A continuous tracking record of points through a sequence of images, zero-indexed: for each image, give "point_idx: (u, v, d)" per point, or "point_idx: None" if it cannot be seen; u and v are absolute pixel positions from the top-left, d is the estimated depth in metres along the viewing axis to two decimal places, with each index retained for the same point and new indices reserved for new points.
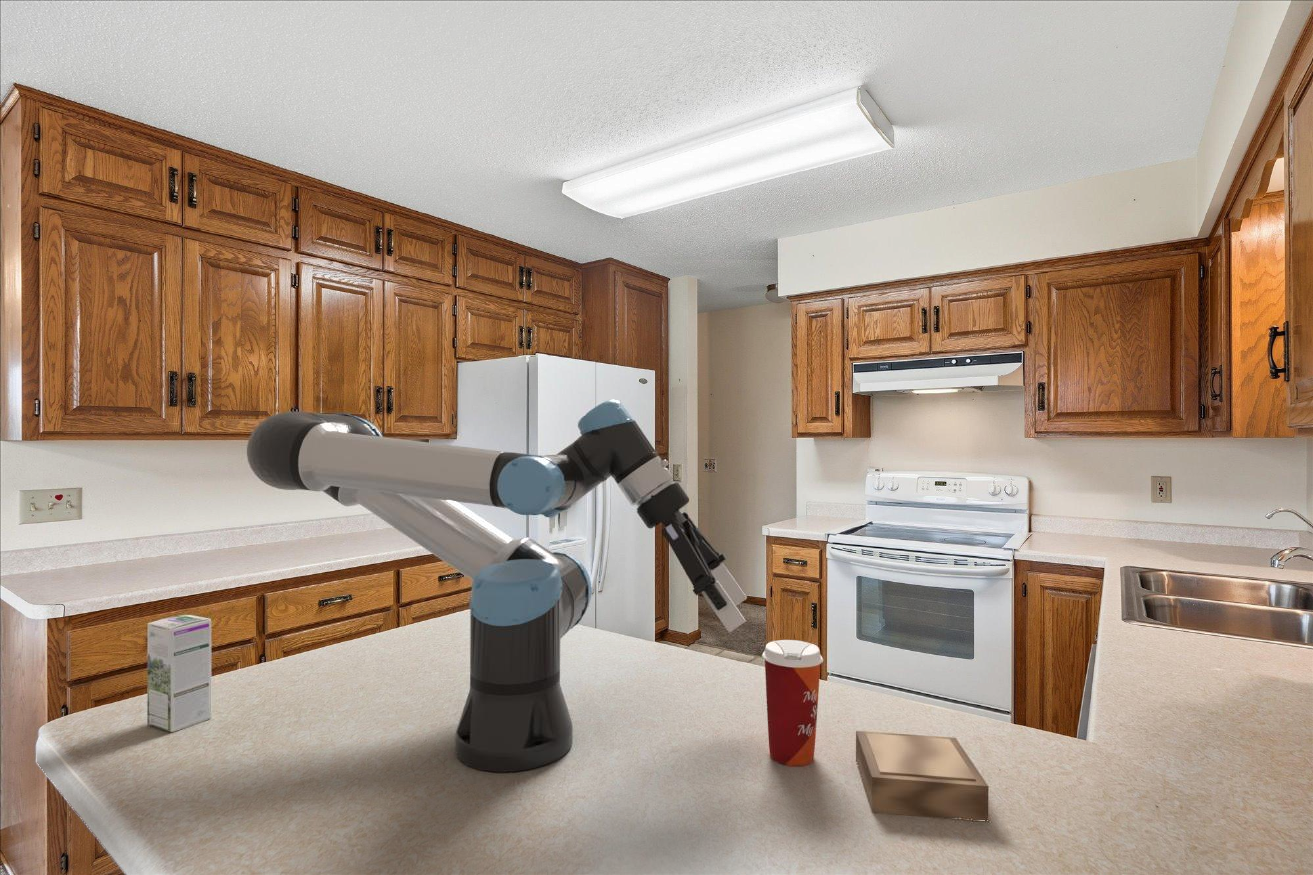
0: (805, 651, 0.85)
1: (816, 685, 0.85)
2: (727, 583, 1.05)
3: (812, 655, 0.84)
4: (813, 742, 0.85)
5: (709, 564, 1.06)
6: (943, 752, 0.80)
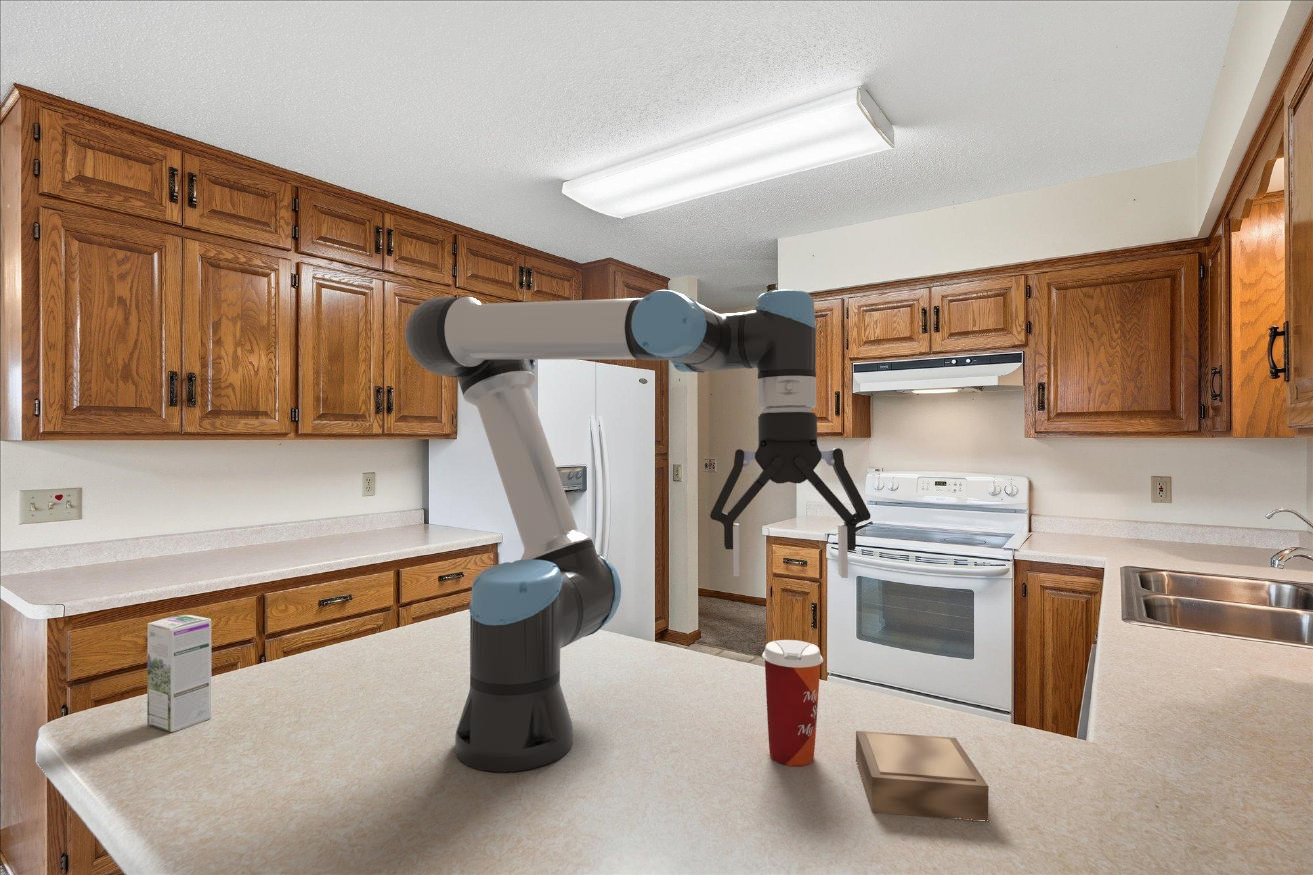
0: (805, 651, 0.85)
1: (816, 685, 0.85)
2: (839, 548, 0.87)
3: (812, 655, 0.84)
4: (813, 742, 0.85)
5: None
6: (943, 752, 0.80)
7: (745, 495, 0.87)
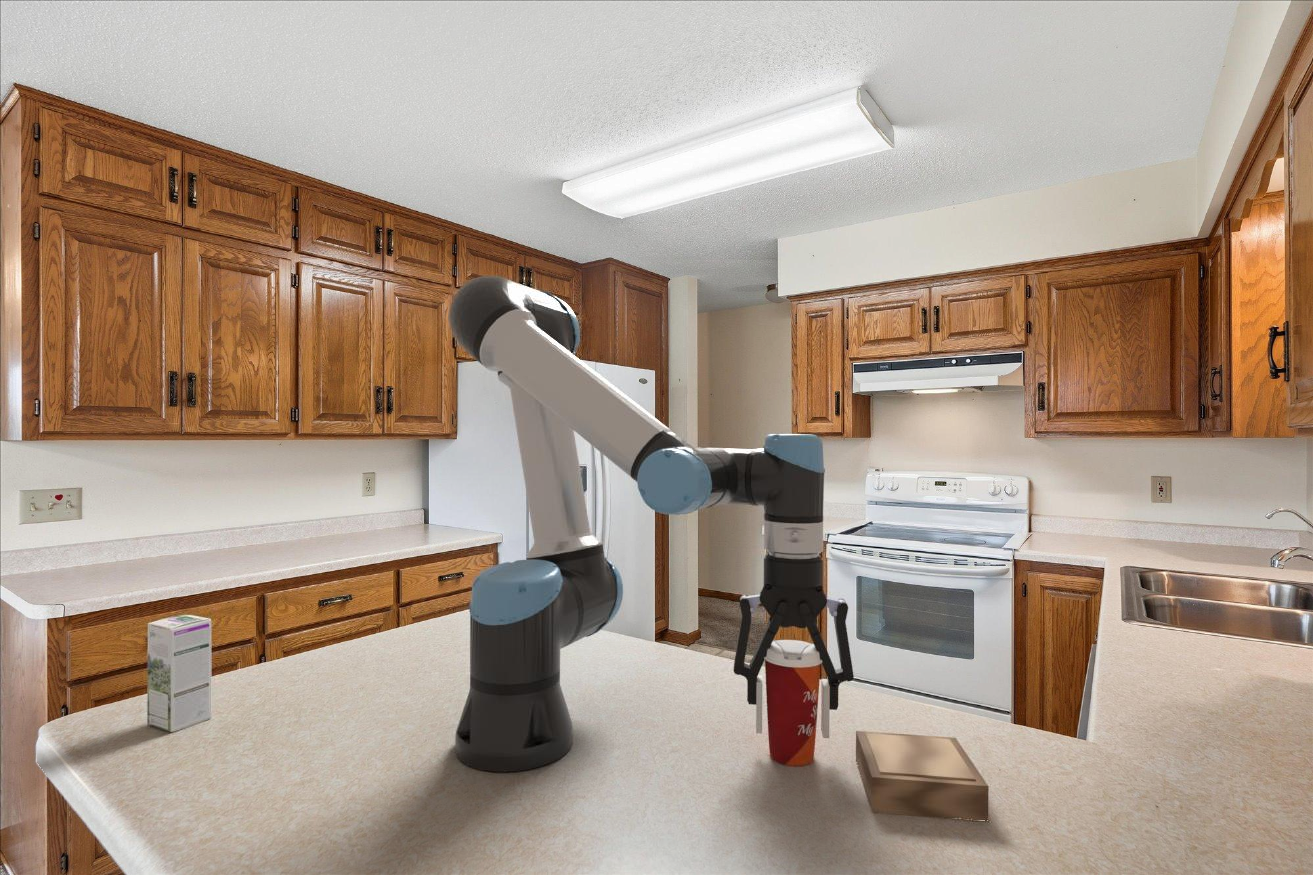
0: (805, 651, 0.85)
1: (816, 685, 0.85)
2: (822, 706, 0.86)
3: (812, 655, 0.84)
4: (813, 742, 0.85)
5: None
6: (943, 752, 0.80)
7: (761, 647, 0.86)
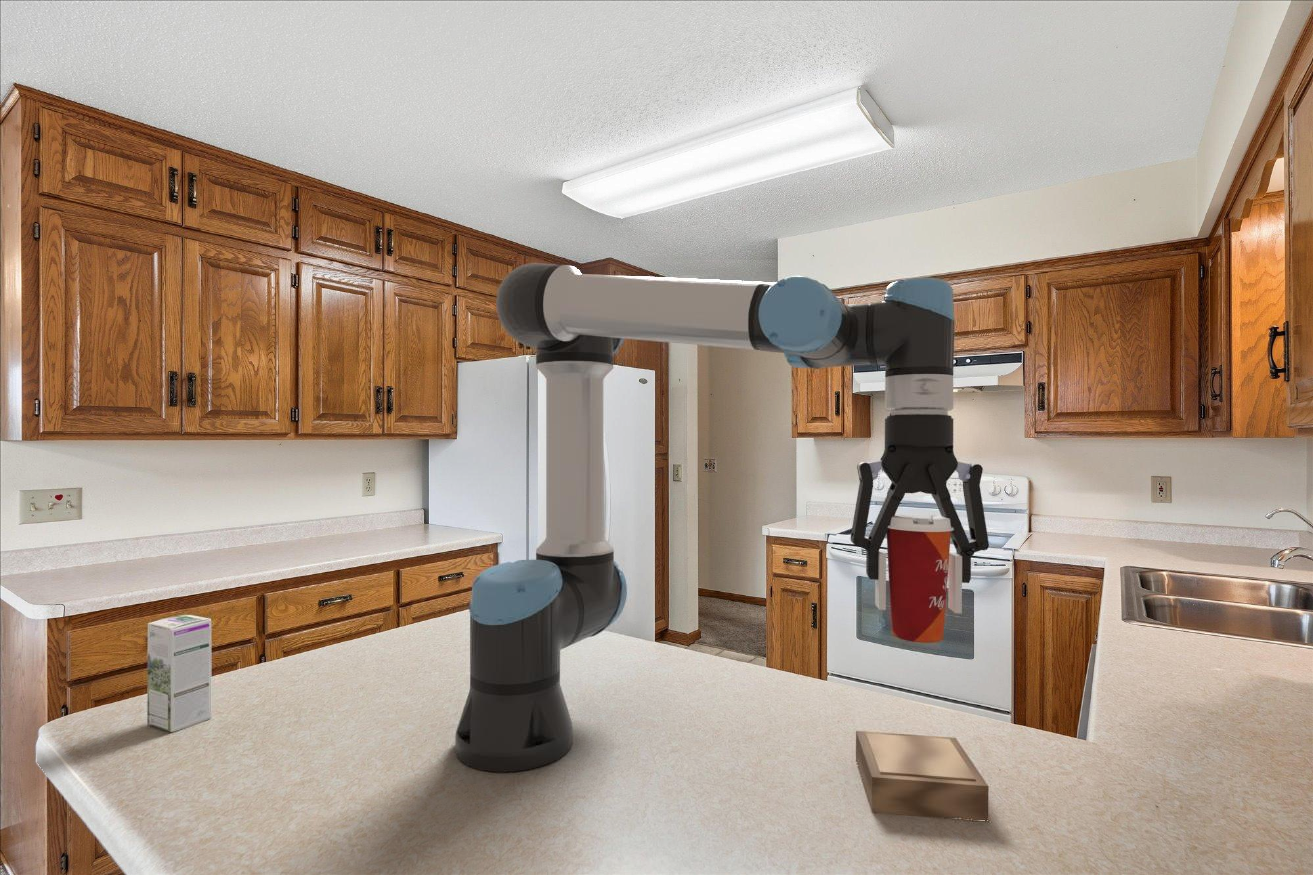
0: (935, 518, 0.77)
1: (948, 554, 0.77)
2: (952, 580, 0.78)
3: (944, 520, 0.76)
4: (944, 618, 0.77)
5: (957, 545, 0.79)
6: (943, 752, 0.80)
7: (884, 515, 0.79)
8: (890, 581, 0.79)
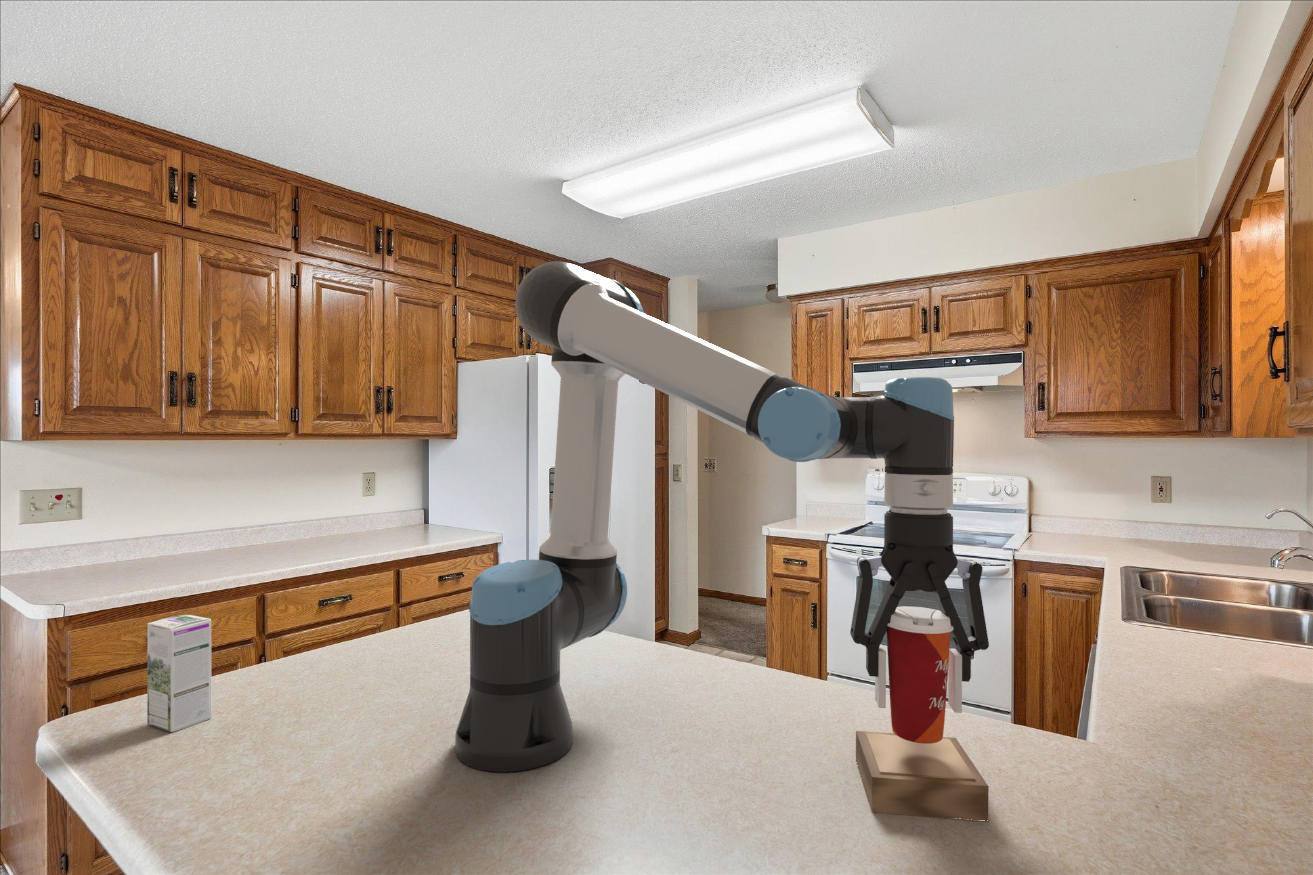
0: (935, 617, 0.77)
1: (947, 654, 0.77)
2: (952, 677, 0.78)
3: (944, 621, 0.76)
4: (944, 717, 0.77)
5: (957, 642, 0.79)
6: (943, 752, 0.80)
7: (884, 613, 0.78)
8: (890, 678, 0.79)
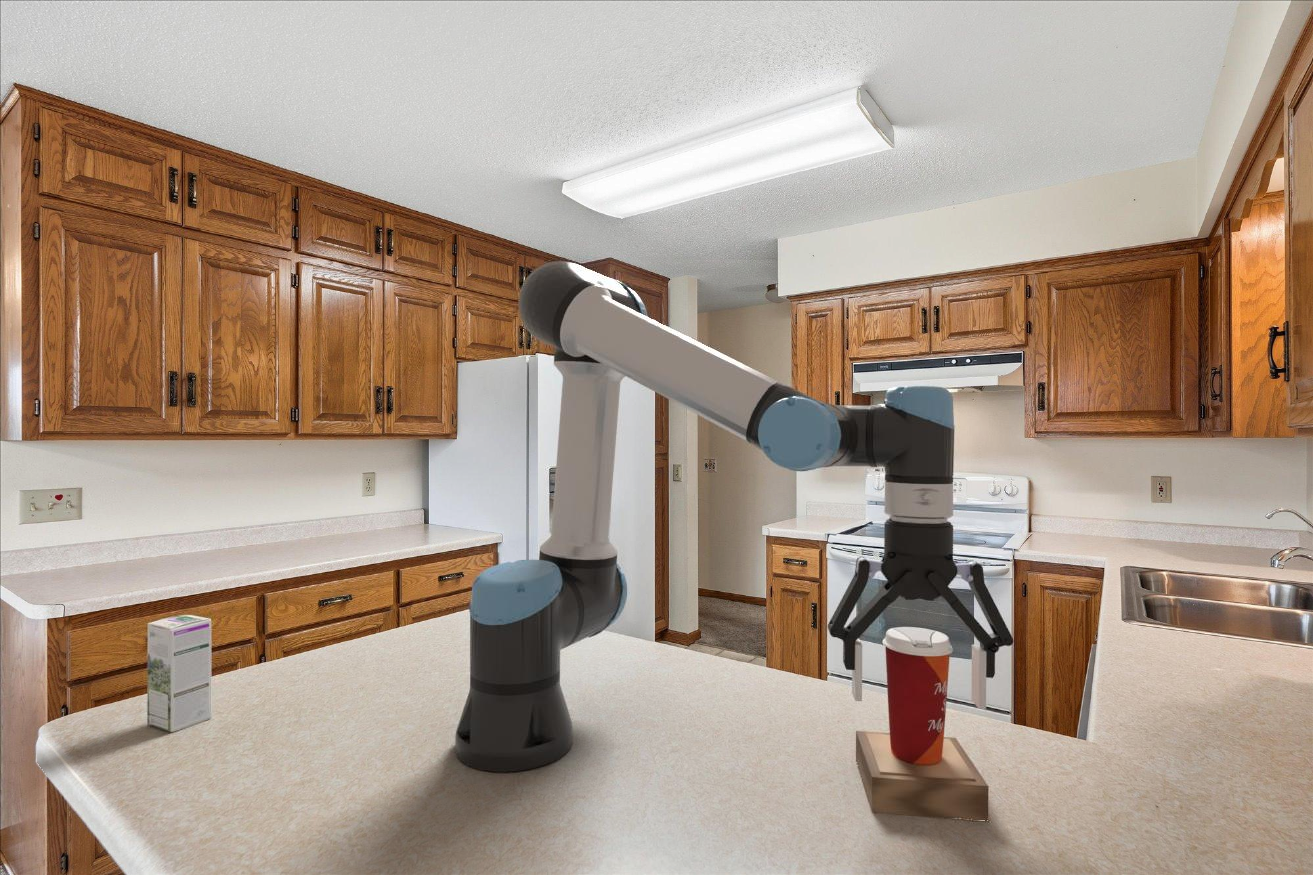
0: (934, 638, 0.77)
1: (947, 676, 0.77)
2: (975, 674, 0.78)
3: (943, 643, 0.76)
4: (942, 739, 0.77)
5: None
6: (943, 752, 0.80)
7: (870, 611, 0.79)
8: (889, 699, 0.79)
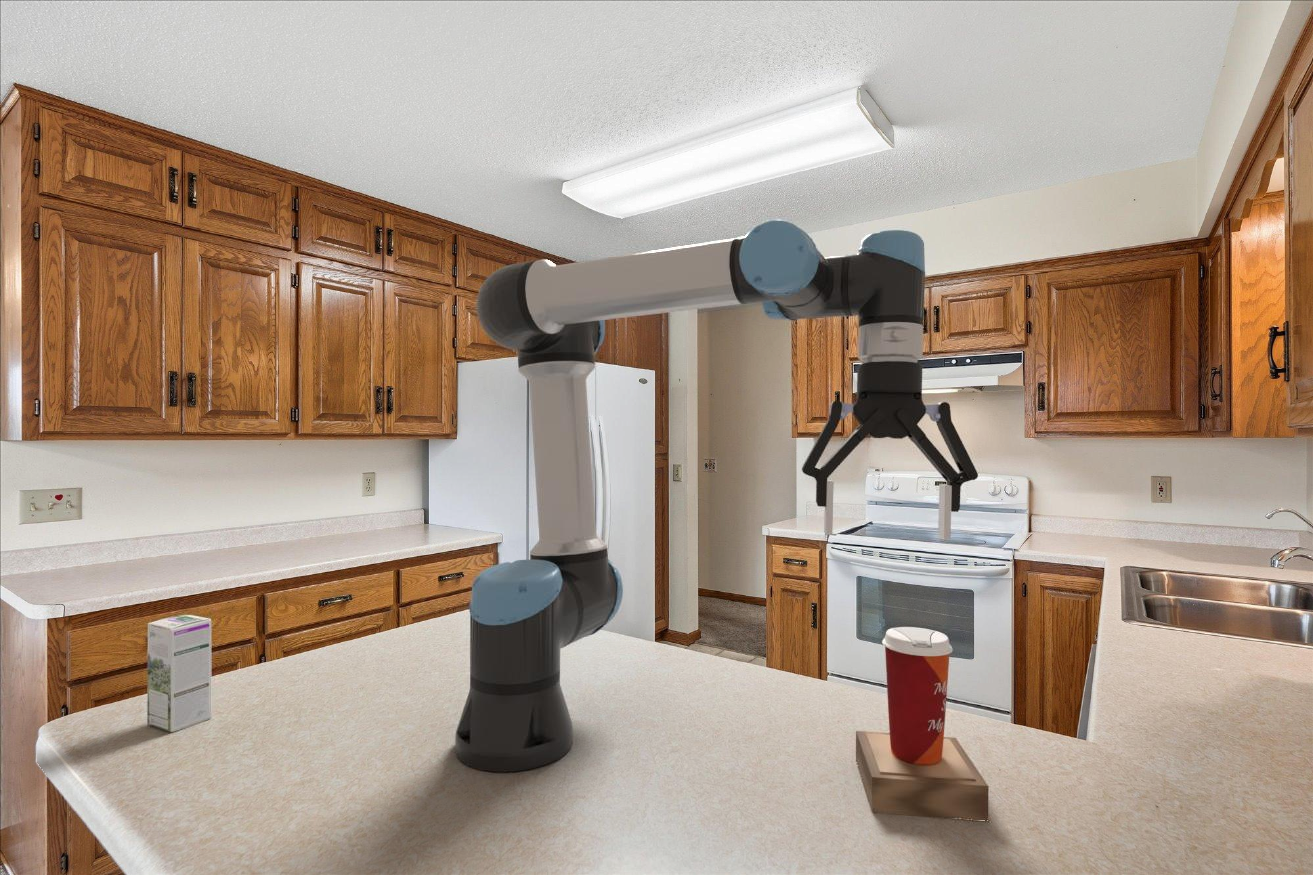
0: (933, 638, 0.77)
1: (946, 676, 0.77)
2: (941, 509, 0.81)
3: (943, 643, 0.76)
4: (942, 739, 0.77)
5: None
6: (943, 752, 0.80)
7: (841, 449, 0.82)
8: (889, 699, 0.79)
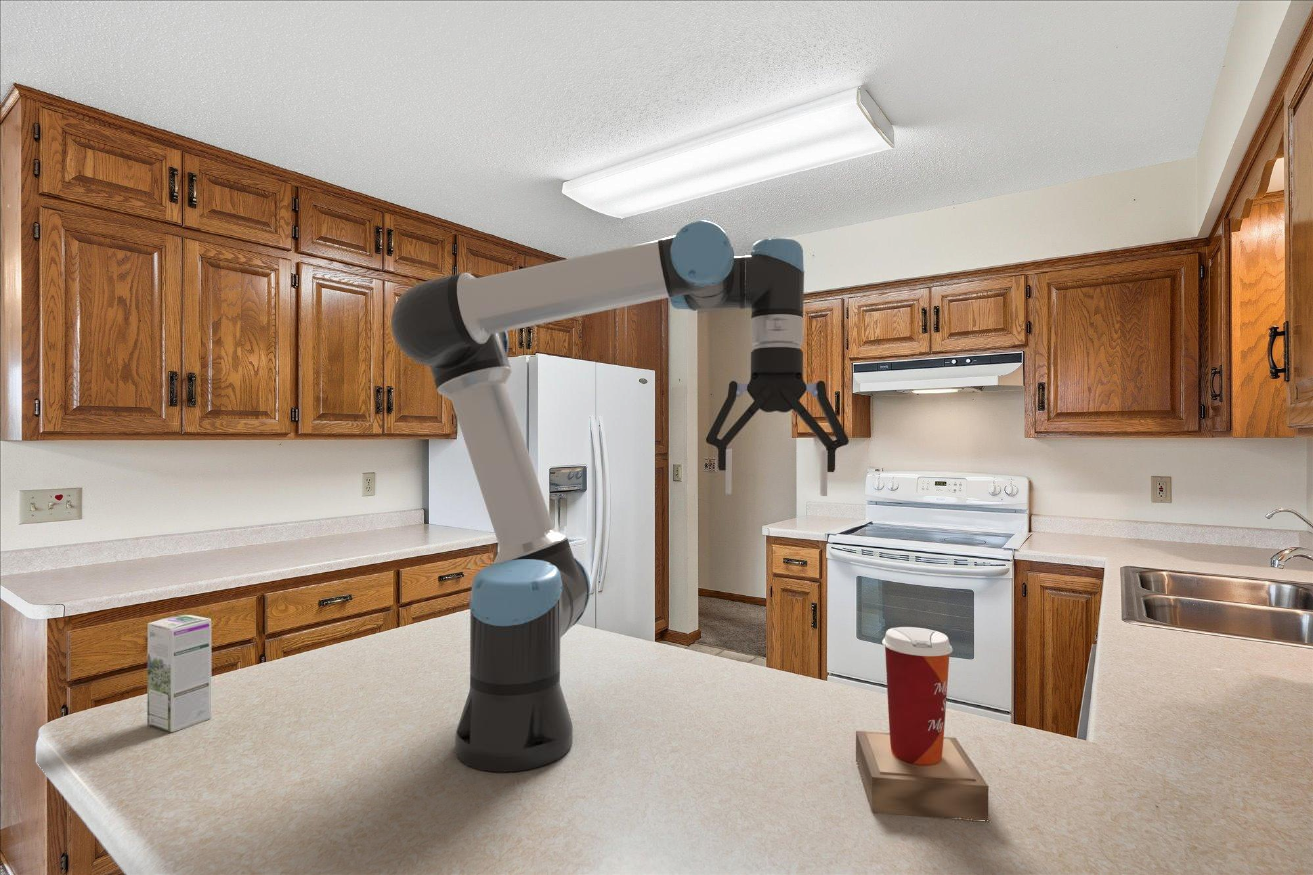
0: (933, 638, 0.77)
1: (946, 676, 0.77)
2: (821, 470, 0.97)
3: (943, 643, 0.76)
4: (942, 739, 0.77)
5: None
6: (943, 752, 0.80)
7: (737, 422, 0.98)
8: (889, 699, 0.79)
